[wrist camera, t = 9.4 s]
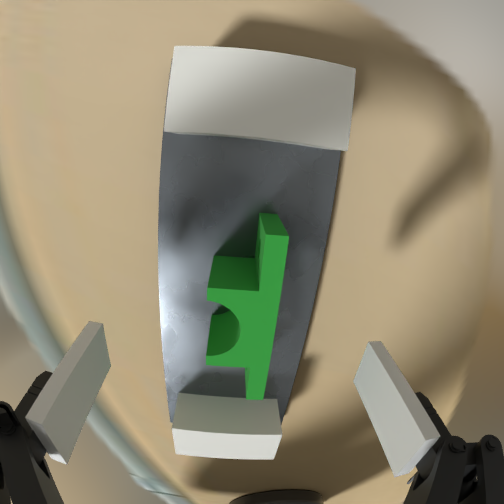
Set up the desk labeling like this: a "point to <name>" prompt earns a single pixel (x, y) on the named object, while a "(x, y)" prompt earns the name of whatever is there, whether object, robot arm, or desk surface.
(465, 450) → the robot arm
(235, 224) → the mounting rail
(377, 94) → the desk surface
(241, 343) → the pipe clamp
